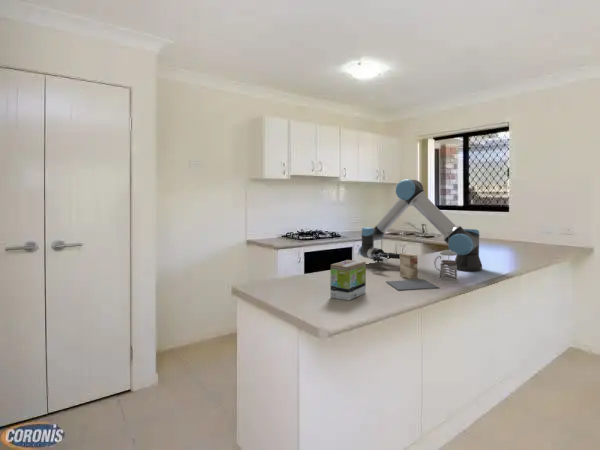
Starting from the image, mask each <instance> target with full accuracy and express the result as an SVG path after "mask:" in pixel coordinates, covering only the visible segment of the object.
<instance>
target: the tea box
mask: <svg viewBox="0 0 600 450" xmlns="http://www.w3.org/2000/svg"><path fill="white" fill-rule="evenodd" d="M366 267H367V263H366V261H360V260H351V259H346V260H343V261H340V262H335V263H332V264H330V285H329V286H330V298H333V299H339V300H344V301H351V300H353V299H354V298H357V297H359V296H361V295H362V296H363V295H364V294H366V289H367V288H366V286H367V285H366V284H367V283H366V276H367V274H366V270H367V268H366Z"/></svg>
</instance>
